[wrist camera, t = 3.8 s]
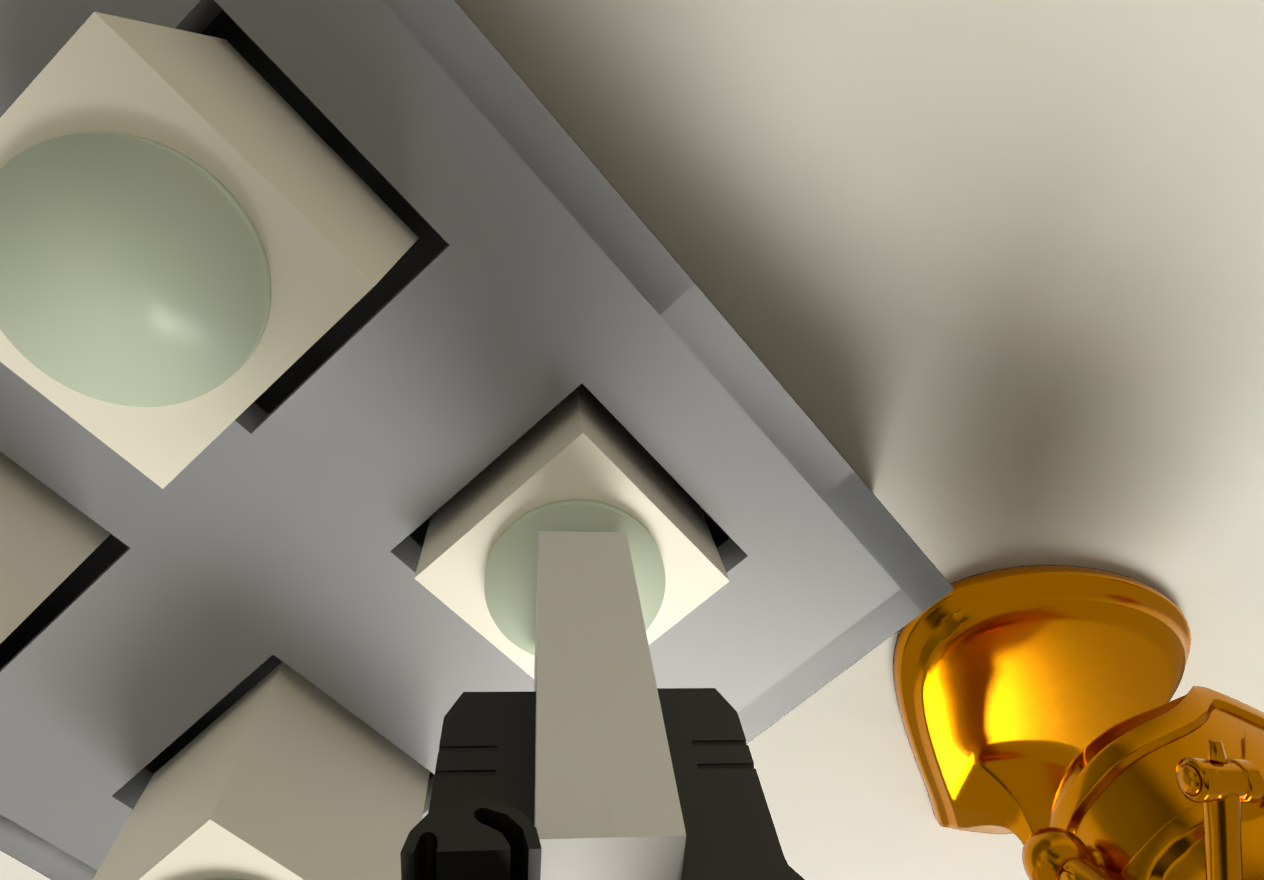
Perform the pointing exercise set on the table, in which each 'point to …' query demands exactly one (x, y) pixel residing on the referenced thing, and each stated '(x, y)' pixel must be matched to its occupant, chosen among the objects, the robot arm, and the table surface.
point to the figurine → (1080, 729)
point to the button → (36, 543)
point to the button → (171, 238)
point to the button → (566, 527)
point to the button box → (413, 443)
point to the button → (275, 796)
